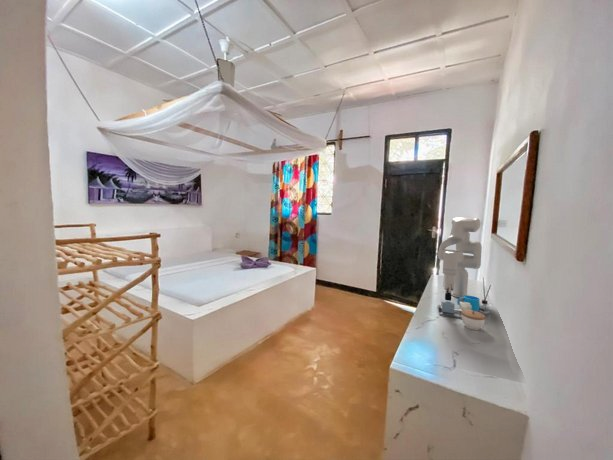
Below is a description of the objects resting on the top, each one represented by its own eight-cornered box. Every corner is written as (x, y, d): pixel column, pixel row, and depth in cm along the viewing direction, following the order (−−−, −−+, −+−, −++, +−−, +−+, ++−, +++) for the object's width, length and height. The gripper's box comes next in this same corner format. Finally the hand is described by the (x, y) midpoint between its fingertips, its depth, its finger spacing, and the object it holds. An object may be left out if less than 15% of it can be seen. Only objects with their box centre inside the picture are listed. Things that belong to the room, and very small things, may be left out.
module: (440, 307, 157) (441, 298, 157) (452, 309, 155) (452, 300, 154) (442, 311, 151) (442, 302, 151) (454, 313, 148) (454, 304, 148)
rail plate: (437, 307, 161) (437, 296, 161) (469, 311, 154) (469, 300, 154) (439, 315, 148) (440, 304, 148) (474, 320, 141) (475, 308, 141)
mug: (478, 309, 158) (479, 297, 158) (478, 313, 152) (479, 301, 151) (457, 305, 165) (457, 293, 164) (456, 309, 159) (457, 296, 158)
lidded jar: (488, 333, 127) (489, 315, 126) (465, 330, 129) (467, 314, 128) (478, 323, 137) (479, 307, 137) (457, 322, 140) (458, 306, 139)
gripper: (441, 268, 159) (439, 295, 160) (444, 273, 145) (442, 303, 147) (454, 269, 156) (452, 297, 157) (458, 274, 142) (456, 305, 144)
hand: (447, 299), depth 152 cm, fingers closed
